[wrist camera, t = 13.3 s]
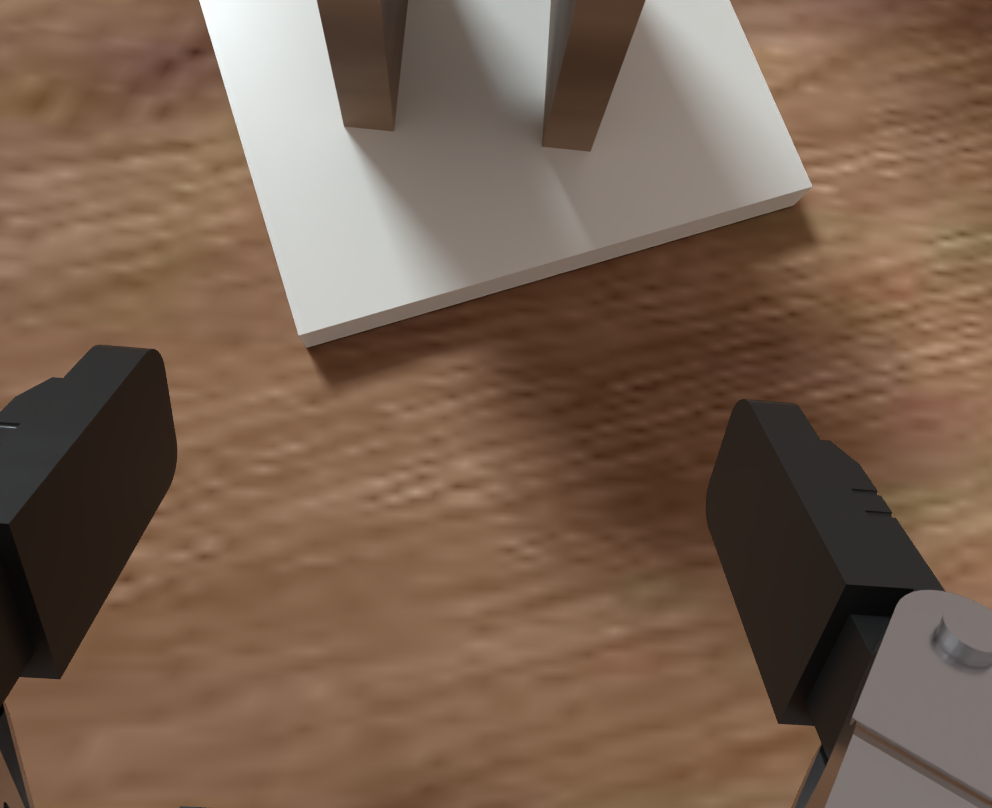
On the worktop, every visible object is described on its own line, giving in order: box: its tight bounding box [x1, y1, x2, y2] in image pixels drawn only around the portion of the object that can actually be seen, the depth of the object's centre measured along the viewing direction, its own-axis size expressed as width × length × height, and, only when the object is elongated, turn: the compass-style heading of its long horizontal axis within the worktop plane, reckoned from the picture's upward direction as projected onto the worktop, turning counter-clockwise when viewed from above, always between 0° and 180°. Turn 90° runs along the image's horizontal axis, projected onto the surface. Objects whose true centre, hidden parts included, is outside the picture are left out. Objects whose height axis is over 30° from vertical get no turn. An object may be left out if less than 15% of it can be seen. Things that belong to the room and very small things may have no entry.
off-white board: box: [200, 0, 812, 348], centre depth 19 cm, size 13×13×1 cm
